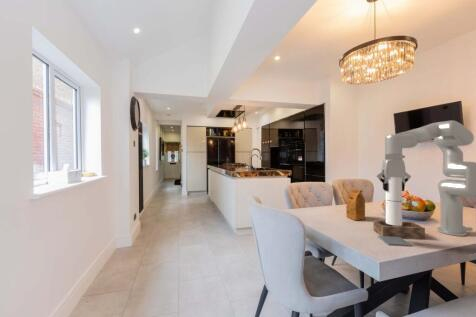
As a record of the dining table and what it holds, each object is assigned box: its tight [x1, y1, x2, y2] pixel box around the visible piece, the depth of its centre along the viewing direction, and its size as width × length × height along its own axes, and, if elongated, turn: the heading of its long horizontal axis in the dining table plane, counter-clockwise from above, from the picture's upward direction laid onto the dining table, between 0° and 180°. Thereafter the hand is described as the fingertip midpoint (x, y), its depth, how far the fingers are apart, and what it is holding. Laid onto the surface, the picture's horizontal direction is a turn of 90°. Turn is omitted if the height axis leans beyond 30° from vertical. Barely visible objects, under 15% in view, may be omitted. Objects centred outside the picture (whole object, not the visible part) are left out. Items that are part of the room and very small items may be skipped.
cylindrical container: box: [385, 177, 403, 226], centre depth 116 cm, size 7×7×25 cm
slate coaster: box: [377, 235, 413, 247], centre depth 116 cm, size 11×11×1 cm
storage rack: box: [372, 220, 426, 240], centre depth 126 cm, size 21×11×6 cm, turn 81°
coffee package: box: [345, 187, 366, 221], centre depth 159 cm, size 10×12×22 cm
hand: (393, 190), depth 115 cm, fingers closed on cylindrical container, 7 cm apart
